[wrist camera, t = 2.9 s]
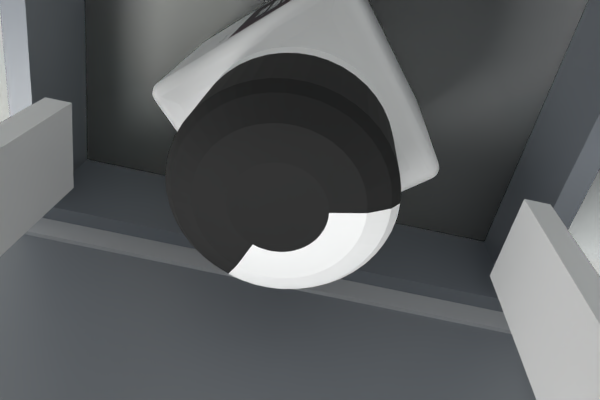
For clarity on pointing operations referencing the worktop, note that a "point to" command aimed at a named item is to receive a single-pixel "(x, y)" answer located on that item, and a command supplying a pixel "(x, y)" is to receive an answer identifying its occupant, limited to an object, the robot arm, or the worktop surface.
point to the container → (293, 143)
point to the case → (249, 297)
